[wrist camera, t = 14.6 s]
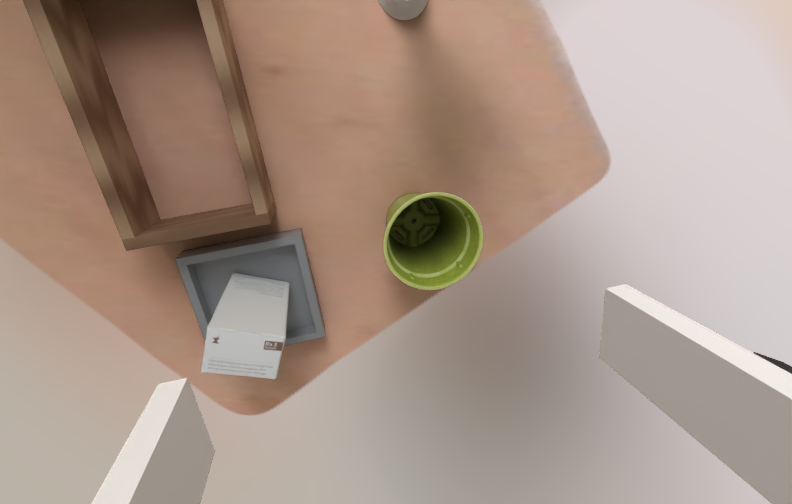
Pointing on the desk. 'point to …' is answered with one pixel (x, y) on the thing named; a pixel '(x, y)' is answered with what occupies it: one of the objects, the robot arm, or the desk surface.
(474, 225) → the plant pot
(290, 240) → the charcoal tray
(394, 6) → the chalice
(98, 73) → the walnut box
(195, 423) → the robot arm
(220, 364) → the skincare box
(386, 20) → the desk surface
